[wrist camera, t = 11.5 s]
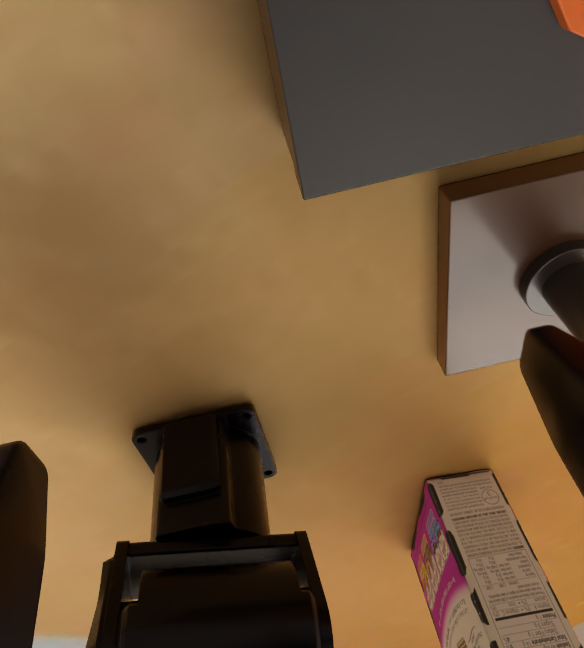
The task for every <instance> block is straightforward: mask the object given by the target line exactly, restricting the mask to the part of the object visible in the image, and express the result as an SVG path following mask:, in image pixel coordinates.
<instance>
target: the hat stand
mask: <svg viewBox="0 0 584 648" xmlns="http://www.w3.org/2000/svg"><path fill="white" fill-rule="evenodd" d="M544 325H553V326H555V327H557V328H559V329H561V330H563V331H565V332H567V333H569V334H571V335H572V336H574V337H576V338H578V339H580V340H582V341H584V153H580V154H576V155H572V156H568V157H563V158H559V159H555V160H551V161H546V162H542V163H538V164H534V165H530V166H525V167H521V168H517V169H513V170H508V171H504V172H500V173H496V174H491V175H487V176H483V177H479V178H475V179H470V180H466V181H462V182H458V183H453V184H449V185H445V186H441V187H439V255H438V354H437V360H438V362H439V364H440V366H441V368H442V370H443V372H444V374H445V376H448V375H452V374H457V373H461V372H465V371H470V370H474V369H478V368H483V367H487V366H491V365H496V364H500V363H504V362H509V361H513V360H517V359H520V357H521V352H522V346H523V341H524V336H525V333H526V331H527V330H528V329H530V328H534V327H539V326H544Z"/></svg>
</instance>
